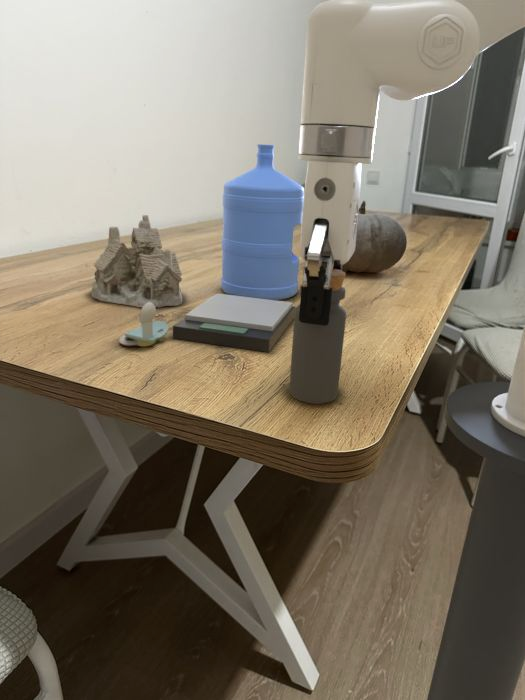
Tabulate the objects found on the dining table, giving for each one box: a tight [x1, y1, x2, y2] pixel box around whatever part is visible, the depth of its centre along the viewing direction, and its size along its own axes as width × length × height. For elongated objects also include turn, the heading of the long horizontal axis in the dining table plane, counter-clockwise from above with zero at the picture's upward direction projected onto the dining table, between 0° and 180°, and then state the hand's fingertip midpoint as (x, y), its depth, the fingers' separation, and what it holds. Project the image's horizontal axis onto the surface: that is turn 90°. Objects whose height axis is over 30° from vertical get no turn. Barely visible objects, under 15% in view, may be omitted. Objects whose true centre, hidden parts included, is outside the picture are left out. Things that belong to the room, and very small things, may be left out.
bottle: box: [289, 267, 347, 405], centre depth 60 cm, size 6×6×15 cm
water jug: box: [220, 143, 305, 301], centre depth 101 cm, size 16×16×28 cm
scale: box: [172, 293, 297, 353], centre depth 84 cm, size 15×18×3 cm
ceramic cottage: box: [90, 214, 184, 309], centre depth 95 cm, size 16×16×15 cm
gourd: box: [324, 200, 408, 274], centre depth 128 cm, size 25×25×17 cm
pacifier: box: [118, 302, 169, 347], centre depth 75 cm, size 7×6×6 cm
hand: (320, 311), depth 59 cm, fingers open, 7 cm apart
